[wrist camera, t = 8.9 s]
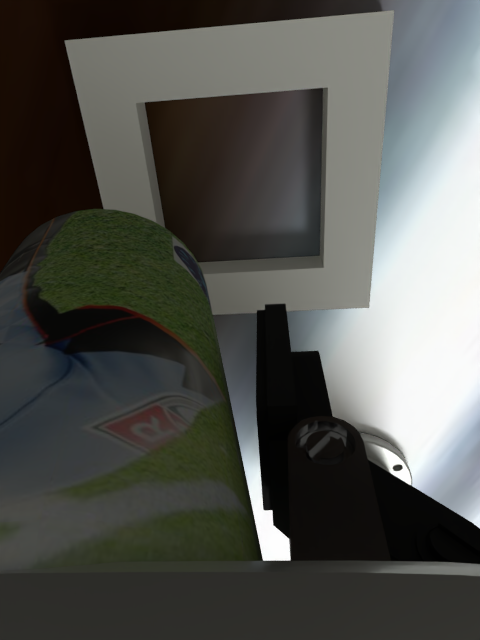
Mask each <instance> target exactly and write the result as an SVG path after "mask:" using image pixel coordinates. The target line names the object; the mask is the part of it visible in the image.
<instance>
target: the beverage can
mask: <svg viewBox="0 0 480 640" xmlns="http://www.w3.org/2000/svg"><path fill="white" fill-rule="evenodd" d="M138 561H263V559H262V554H261V549H260V544H259V539H258V534H257V530H256V525H255V520H254V515H253V510H252V505H251V500H250V495H249V490H248V485H247V481H246V476H245V471H244V466H243V461H242V456H241V451H240V446H239V441H238V437H237V432H236V427H235V422H234V417H233V412H232V407H231V402H230V397H229V392H228V388H227V383H226V378H225V373H224V368H223V363H222V358H221V353H220V348H219V343H218V339H217V334H216V329H215V324H214V319H213V314H212V309H211V304H210V299H209V294H208V290H207V285H206V281H205V278H204V275H203V272H202V269H201V268H200V266H199V264H198V262H197V260H196V259H195V257H194V255H193V254H192V253H191V251H190V250H189V249H188V248H187V247H186V246H185V244H184V243H183V242H182V241H181V240H180V239H178V238H177V237H176V236H175V235H174V234H173V233H171V232H170V231H169V230H167V229H166V228H164V227H162V226H161V225H159V224H157V223H155V222H154V221H152V220H149V219H147V218H144V217H141V216H139V215H136V214H133V213H128V212H123V211H119V210H109V209H90V210H82V211H75V212H72V213H68V214H65V215H62V216H58V217H56V218H54V219H52V220H50V221H48V222H46V223H44V224H42V225H41V226H39V227H38V228H37V229H36V230H34V231H33V232H32V233H31V234H29V235H28V236H27V237H26V238H25V239H24V240H23V242H22V243H21V244H20V245H19V247H18V248H17V249H16V250H15V252H14V253H13V255H12V256H11V258H10V259H9V261H8V262H7V264H6V265H5V267H4V268H3V270H2V271H1V273H0V571H6V570H24V569H39V568H51V567H63V566H76V565H89V564H99V563H109V562H138Z"/></svg>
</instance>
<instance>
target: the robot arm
mask: <svg viewBox="0 0 480 640" xmlns="http://www.w3.org/2000/svg"><path fill="white" fill-rule="evenodd" d="M256 408H257V426H258V440H259V454H260V467H261V481H262V495H263V509H264V510H273V525H274V526H275V527H276V528H278V529H279V530H280V531H281V532H282V533H283V534H284V535H286V536H287V537H288V538H289V542H290V556H291V561H138V562H109V563H99V564H89V565H76V566H63V567H51V568H39V569H24V570H6V571H0V640H480V528H478V527H477V526H476V525H474V524H473V523H472V522H470V521H468V520H467V519H465V518H463V517H462V516H460V515H458V514H457V513H455V512H454V511H452V510H450V509H449V508H447V507H445V506H444V505H442V504H440V503H439V502H437V501H435V500H434V499H432V498H431V497H429V496H427V495H426V494H424V493H422V492H421V491H419V490H417V489H416V488H414V487H412V476H411V473H410V469H409V467H408V464H407V462H406V460H405V458H404V457H403V455H402V454H401V453H400V451H399V450H398V449H396V448H395V447H394V446H393V445H391V444H390V443H388V442H386V441H384V440H382V439H381V438H379V437H375V436H372V435H369V434H365V433H359V432H358V431H357V430H356V429H355V428H354V427H353V426H352V425H351V424H349V423H347V422H346V421H344V420H341V419H338V418H335V417H333V416H332V412H331V407H330V402H329V397H328V393H327V388H326V383H325V378H324V374H323V369H322V364H321V359H320V355H319V352H318V351H301V352H291V347H290V338H289V330H288V321H287V312H286V304H265V310H257V363H256Z"/></svg>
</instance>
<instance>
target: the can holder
mask: <svg viewBox="0 0 480 640" xmlns="http://www.w3.org/2000/svg"><path fill="white" fill-rule="evenodd" d="M393 18H394V10H393V11H382V12H371V13H360V14H349V15H338V16H327V17H317V18H306V19H295V20H284V21H273V22H262V23H251V24H240V25H229V26H218V27H207V28H196V29H185V30H174V31H163V32H152V33H141V34H131V35H120V36H109V37H98V38H87V39H76V40H65V45H66V49H67V54H68V58H69V62H70V67H71V71H72V75H73V79H74V84H75V88H76V92H77V97H78V101H79V105H80V109H81V114H82V118H83V122H84V127H85V131H86V135H87V139H88V144H89V148H90V152H91V157H92V161H93V165H94V170H95V174H96V178H97V182H98V187H99V191H100V195H101V200H102V204H103V208H104V209H109V210H119V211H123V212H128V213H133V214H136V215H139V216H141V217H144V218H147V219H149V220H152V221H154V222H155V223H157V224H159V225H161V226H162V227H164V228H165V224H164V218H163V212H162V206H161V200H160V194H159V187H158V181H157V175H156V169H155V163H154V157H153V151H152V145H151V139H150V133H149V127H148V121H147V115H146V109H145V103H144V102H154V101H166V100H178V99H191V98H203V97H215V96H228V95H240V94H253V93H265V92H277V91H290V90H302V89H314V88H323V111H322V164H321V216H320V256H304V257H286V258H268V259H250V260H232V261H214V262H198V264H199V266H200V268H201V269H202V272H203V275H204V278H205V281H206V285H207V290H208V294H209V299H210V304H211V309H212V314H213V315H223V314H244V313H257V310H265V304H286V311H306V310H327V309H348V308H369V301H370V289H371V277H372V265H373V254H374V242H375V230H376V218H377V206H378V195H379V183H380V171H381V159H382V147H383V136H384V124H385V112H386V100H387V88H388V77H389V65H390V53H391V41H392V29H393Z"/></svg>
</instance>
